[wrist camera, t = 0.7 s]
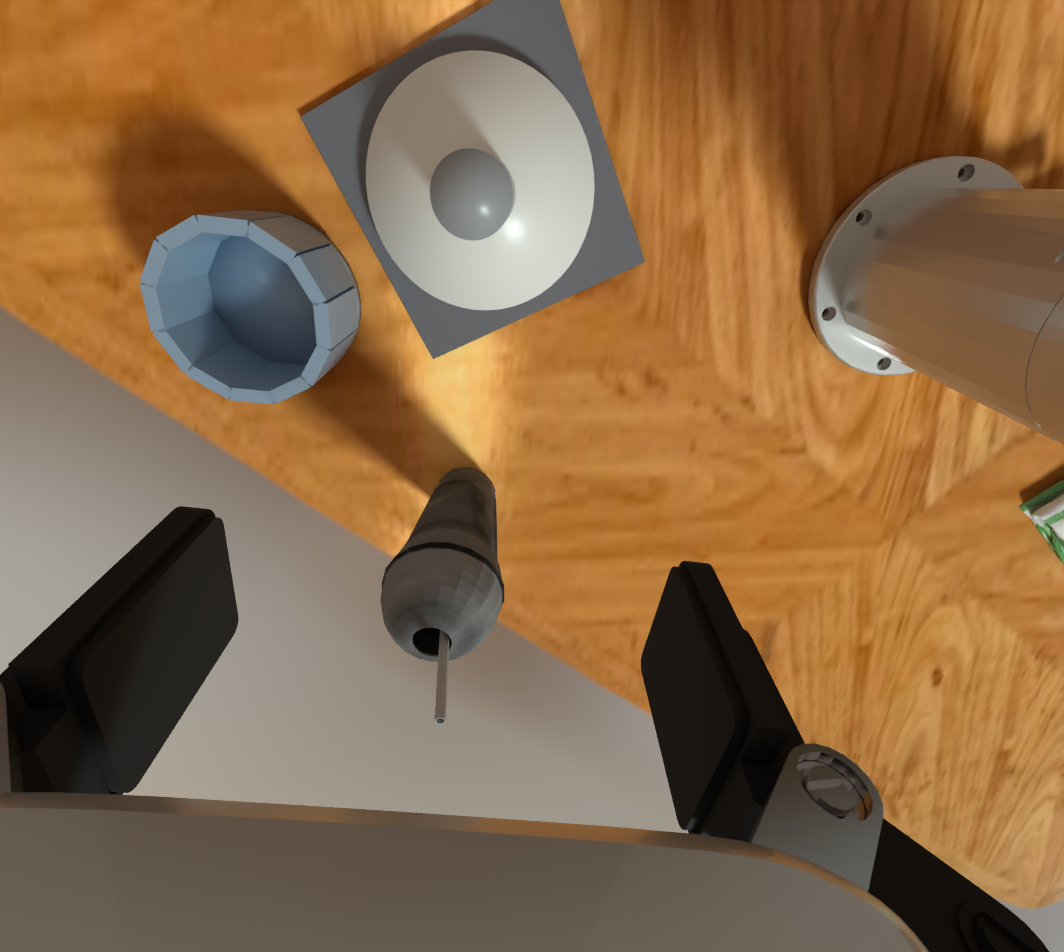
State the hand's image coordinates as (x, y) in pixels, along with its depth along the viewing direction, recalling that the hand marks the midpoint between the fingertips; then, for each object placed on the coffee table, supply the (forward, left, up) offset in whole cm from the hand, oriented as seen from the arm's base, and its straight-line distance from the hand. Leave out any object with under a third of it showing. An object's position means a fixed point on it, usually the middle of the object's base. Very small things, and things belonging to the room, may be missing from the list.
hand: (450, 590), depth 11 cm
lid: (-1, -7, -27) cm, 28 cm away
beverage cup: (+9, +11, -27) cm, 31 cm away
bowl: (+13, -7, -27) cm, 31 cm away
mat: (-1, -7, -27) cm, 28 cm away
